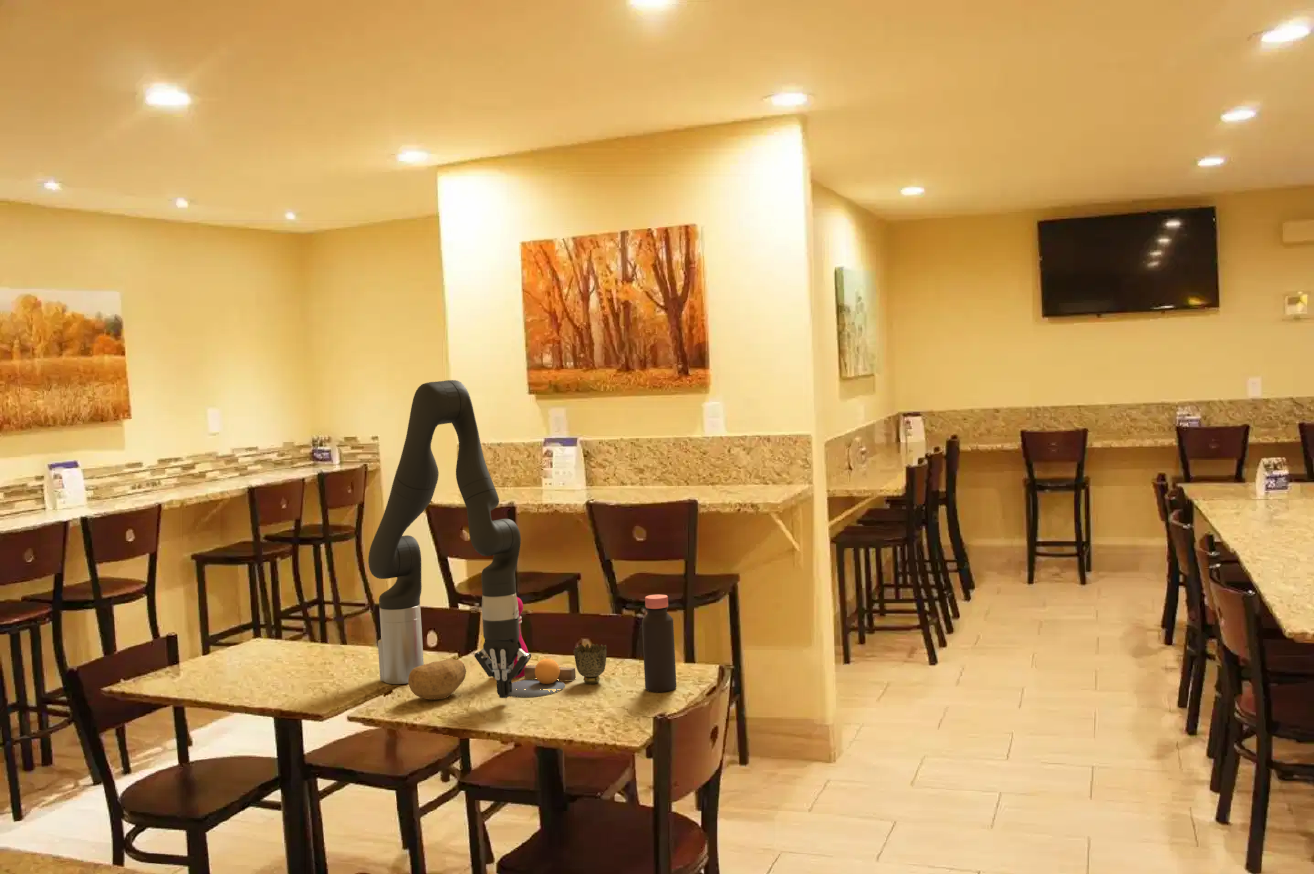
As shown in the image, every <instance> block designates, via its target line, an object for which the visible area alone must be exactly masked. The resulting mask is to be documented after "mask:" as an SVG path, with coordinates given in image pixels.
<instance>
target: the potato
mask: <svg viewBox="0 0 1314 874" xmlns="http://www.w3.org/2000/svg"><path fill="white" fill-rule="evenodd" d="M466 674H467V669H466V666H465V663H464V662H463V661H461V660H459V659H454V658H448V659H444V660H436V661H432V662H429V663H425V664H424V665H421V666H419V667H416V668H414V669H413V670H412V671H411V672H410V675H409V679H408V683H407V684H408V687H409V689H410V691H411V693H413V695H415V696H416V697H418V698H421V699H425V700H434V701H435V700H442V699H446V698H448V697H450V696H451V695H452V694H453V693H454V692H456V690H458V688H459V687H460V686H461V684H462V683H463V682H464V681H465V678H466Z"/></svg>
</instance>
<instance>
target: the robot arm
mask: <svg viewBox="0 0 1314 874" xmlns="http://www.w3.org/2000/svg"><path fill="white" fill-rule="evenodd" d="M446 424H452V426H453V428H454V430H455V432H456V435H457V440H458V451H457V453H458V454H457V457H456V458H457V459H456V466H455V477H456V478H455V479H456V483H457V486H458V487H457V488H458V489H459V492H460V494H461V497H462V500H463V502H464V505H465V507H466V513H467V514H466V515H467V522H468V523H467V524H468V534H469V539H470V543H471V545H472V547H473V549H474V550H475V552H477V554H479V555H481V556H483V557H489V556H493V558H492V561H491V563H490V564H488V565H487V566H485V567H484V568H483V569H482V571H481V576H480V577H481V580H480V581H481V590H482V591H481V593H482V594H481V595H482V596H481V597H482V599H481V613H482V614H481V615H482V616H481V618H482V634H483V639H484V642H483V646H482V647H483V648H481V649H480V651H477V652H475V653H474V654H473V655H474V658H475V660H476V661H477V662H478V663H479V665H480V666H481V668H482V669H483V670H484V672H485V674H486V675H487V676H488V677H489V678H494V679H495V680H496V693H497V695H498V697H499V698H501V699H507V698H509V697H511V696H510V694H512V683H513V682H512V680H513V679H515V678H514V677H516V676H518V675H520V673H521V672H522V670H523V669H524V667H525V666H527V664H528V662H529V661H530V659H531V658H532V654H531V653H530V652H528V653H526V652H524V651H523V650H522V649H521V644H520V641H519V635H520V632H519V610H518V601H517V597H518V596H517V586H516V585H517V583H516V570H517V565H518V561H519V556H520V550H521V544H522V543H521V542H522V538H521V532H520V529H519V527H518V525H517V524H516V522H515V521H514V520H512V519H509V518H500V519H496V520H492V514H491V513H492V512H491V511H493V510H494V509H496V508H497V507H498V505H499V503H500V498H499V495H498V492H497V490H496V487H495V485H494V482H493V480H492V477H491V474H490V472H489V468H488V466H487V463H486V460H485V456H484V453H483V452H484V451H483V448H482V443H481V437H480V434H479V429H478V423H477V421H476V416H475V410H474V406H473V402H472V399H471V396H470V393H469V391H468V388H467V387H466V386H465V385H464V384H463V383H462V382H461V381H459V380H456V379H449V380H442V381H441V380H440V381H430V382H429V381H428V382H425V383H422V384H420V385H419V387H417V389H416V391H415V393H414V395H413V398H412V403H411V406H410V413H409V420H408V425H407V431H406V436H405V439H404V444H403V447H402V451H401V455H400V459H399V463H398V466H397V469H396V471H395V474H394V478H393V482H392V485H391V489H390V493H389V497H388V500H387V503H386V506H385V509H384V511H383V512H384V513H383V515H382V517H381V519H380V523H379V525H378V527H377V530H376V532H375V534H374V537H373V539H372V541H371V544H370V548H369V552H368V558H367V559H368V563H367V564H368V569H369V572H370V573H371V575H372V576H373V577H374V578H376V579H379V580H383V579H384V580H385V579H393V578H396V580H395V582H394V584H393V585H392V586H391V587H390V588H388V589H387V590H386V591H384V592H383V593H381V594H380V595H379V598H378V607H379V622H380V624H379V625H380V636H381V637H380V639H379V640H377V650H378V651H377V653H378V654H377V655H378V669H379V681H380V682H384V683H386V684H389V685H390V684H393V685H401V684H402V685H403V684H404V685H405V684H408V679H409V675H410V672H411V671H412V670H413V669H414V668H416V667H419V666H421V665H425V664H424V663H425V662H424V649H423V648H424V647H423V646H424V643H423V629H422V615H421V613H422V611H421V595H422V587H423V584H422V553H421V552H422V551H421V548H420V545H419V542H418V541H417V539H416V538H415V537H414V536H411V535H404V534H405V532H406V530H407V529H408V528H409V527H410V526H411V524H412V523H413V522H415V520H416V519H418V518H419V517H420V515H421V514H422V513H424V511H425V510H426V509H427V507H428V506H429V505H430V503H431V501H432V500H433V497H434V494H435V490H436V488H437V484H438V481H439V474H440V473H439V468H438V464H437V462H436V458H435V456H434V454H433V450H432V442H433V436H434V434H435V432H436V431H435V430H436V429H437V427H438V426H439V425H446ZM517 655H518V657H517ZM516 657H517V660H518V662H517V663H516V665H515V666H514V660H515V658H516ZM513 667H514V668H513Z"/></svg>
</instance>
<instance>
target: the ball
mask: <svg viewBox="0 0 1314 874" xmlns="http://www.w3.org/2000/svg"><path fill="white" fill-rule="evenodd" d="M535 666H536V667H535V676H536V678H537V680H538V681H539V682H541V683H543V684H552V683H554V682H555V681H556V680H557V679H558V677H559V675H560V668H559V667H560V666H559V664H558V663H557V662H556V661H555V659H551V658H543V659H541V660H540V661H538V662H537V663H536V665H535Z"/></svg>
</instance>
